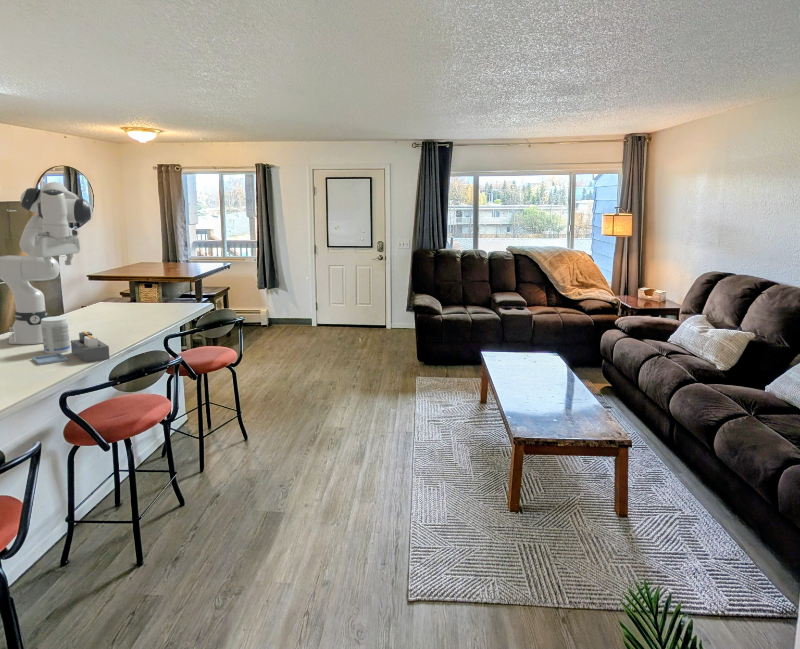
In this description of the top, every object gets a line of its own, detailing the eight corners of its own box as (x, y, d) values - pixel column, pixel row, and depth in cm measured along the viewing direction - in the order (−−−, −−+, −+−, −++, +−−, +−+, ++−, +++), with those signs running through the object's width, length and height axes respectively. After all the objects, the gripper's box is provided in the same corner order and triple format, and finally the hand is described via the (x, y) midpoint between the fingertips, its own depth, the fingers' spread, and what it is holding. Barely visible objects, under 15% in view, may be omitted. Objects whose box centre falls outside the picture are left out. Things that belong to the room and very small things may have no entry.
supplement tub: (73, 348, 235) (71, 316, 232) (65, 354, 226) (62, 320, 223) (49, 349, 233) (46, 316, 230) (39, 354, 224) (36, 320, 221)
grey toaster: (71, 354, 227) (69, 331, 225) (95, 350, 233) (93, 329, 231) (85, 363, 215) (83, 340, 213) (109, 360, 221) (108, 337, 219)
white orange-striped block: (85, 355, 221) (83, 335, 219) (94, 353, 223) (93, 334, 222) (89, 358, 218) (87, 338, 216) (99, 356, 220) (97, 337, 218)
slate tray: (32, 360, 215) (32, 357, 215) (60, 356, 222) (60, 353, 222) (39, 366, 209) (38, 362, 208) (68, 362, 216) (67, 358, 215)
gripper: (42, 233, 202) (46, 269, 205) (81, 231, 222) (84, 264, 225) (27, 232, 203) (31, 268, 206) (68, 230, 223) (71, 263, 226)
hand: (59, 266), depth 216 cm, fingers open, 8 cm apart
